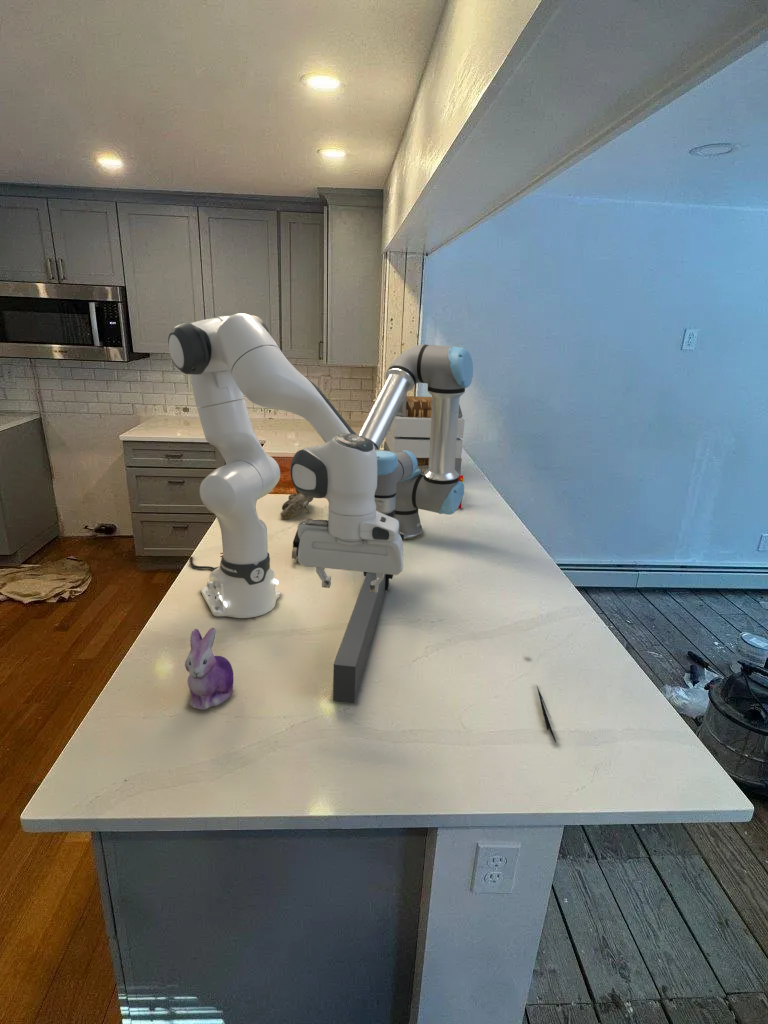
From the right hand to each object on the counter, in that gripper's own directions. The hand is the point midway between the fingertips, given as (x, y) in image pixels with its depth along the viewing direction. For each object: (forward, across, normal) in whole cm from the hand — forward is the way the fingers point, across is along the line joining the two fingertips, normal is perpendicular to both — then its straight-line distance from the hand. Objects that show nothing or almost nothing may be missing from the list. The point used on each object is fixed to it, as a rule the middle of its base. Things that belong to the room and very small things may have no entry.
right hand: (377, 587), depth 160 cm
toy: (+1, +17, +88) cm, 89 cm away
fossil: (+1, -38, +56) cm, 68 cm away
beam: (+1, 0, -22) cm, 23 cm away
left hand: (-23, 0, -45) cm, 50 cm away
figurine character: (+1, -26, +17) cm, 31 cm away
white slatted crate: (+1, +3, +123) cm, 123 cm away
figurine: (+1, -26, -53) cm, 59 cm away
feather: (+1, +40, -41) cm, 57 cm away
